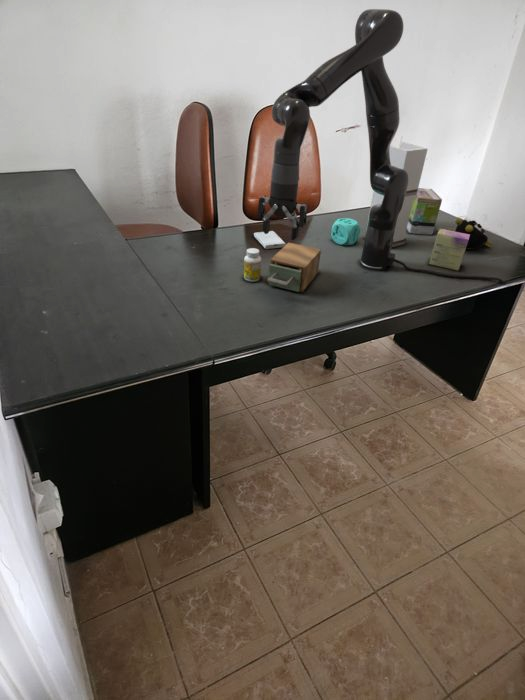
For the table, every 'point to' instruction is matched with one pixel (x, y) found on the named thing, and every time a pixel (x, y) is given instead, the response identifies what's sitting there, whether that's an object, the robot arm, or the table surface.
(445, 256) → the box
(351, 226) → the decorative dice
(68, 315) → the table surface
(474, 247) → the black yellow plush toy
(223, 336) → the table surface
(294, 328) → the table surface
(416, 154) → the tall white carton
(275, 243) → the hard drive
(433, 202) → the tea box
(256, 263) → the supplement bottle
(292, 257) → the cabinet
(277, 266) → the drawer
